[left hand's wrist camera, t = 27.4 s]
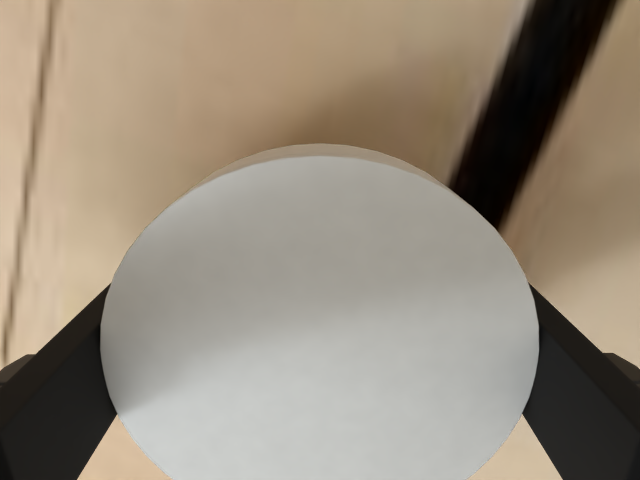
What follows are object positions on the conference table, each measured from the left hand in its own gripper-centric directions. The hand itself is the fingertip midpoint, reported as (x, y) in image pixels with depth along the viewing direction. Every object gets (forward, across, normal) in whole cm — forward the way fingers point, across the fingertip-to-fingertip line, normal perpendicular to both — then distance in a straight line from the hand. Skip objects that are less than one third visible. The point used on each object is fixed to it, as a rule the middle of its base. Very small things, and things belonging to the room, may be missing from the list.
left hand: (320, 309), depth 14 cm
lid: (-3, 0, 0) cm, 3 cm away
